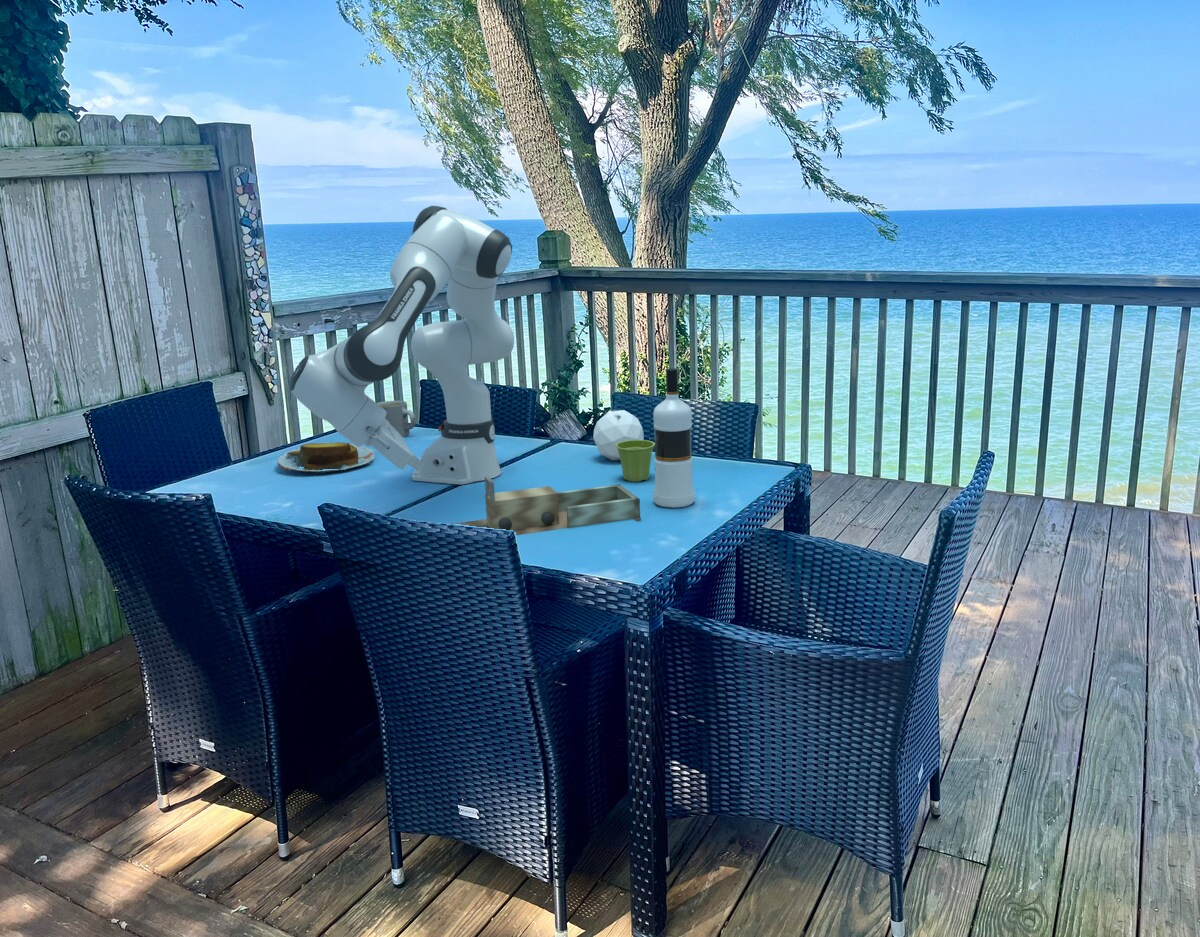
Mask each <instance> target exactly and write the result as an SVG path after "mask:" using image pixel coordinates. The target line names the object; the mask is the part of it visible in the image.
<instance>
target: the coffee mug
mask: <svg viewBox="0 0 1200 937" xmlns="http://www.w3.org/2000/svg"><path fill="white" fill-rule="evenodd" d="M376 403H377V404H378V405H379V406H381V407H382V408H383V409H384V410H386V412H387V413H386V416H385V419H386V420H388V421H389V423H390V424H391V425H392V426H393V427H394V428H395V429H396V430H397V431H398V433H399V434H400V435H401V436H402V437H404V438H406V437H405V436H407V437H409V436H410V435H409V434H411V433H410V430H412V429H414V428H415V426H416V421H417V420H416V415H415V413H414V411H412V410H409V409H408V404H407V403H408V402H407V401H404V400H386V401H380V402H376ZM409 420H410V421H409ZM408 435H409V436H408Z"/></svg>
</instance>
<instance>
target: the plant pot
mask: <svg viewBox="0 0 1200 937" xmlns="http://www.w3.org/2000/svg"><path fill="white" fill-rule="evenodd" d="M616 448H618V453H619V455H620V460H619V461H620V464H621V469H622V475H623V479H624V480H626V481H627V482H631V483H632V482H635V483H637V482H641V481H647V480H648V479H649V478H650V471H651V470H650V468H651V461H652V453H653V451H654V448H655V441H651V440H646V439H644V440H628V441H623V442H619V443H617V444H616Z"/></svg>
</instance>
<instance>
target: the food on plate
mask: <svg viewBox="0 0 1200 937" xmlns="http://www.w3.org/2000/svg"><path fill="white" fill-rule="evenodd" d="M374 458H375V449H374V450H373V449H372V448H368V447H367V446H363V445H361V446H359V447H357V446H356V445H354V444H353V443H349V442H317V443H315V442H313V443H311V442H310V443H304V444H301V445H300V447H298V448H296V449H295V448H294V449H290V450H288V451H286V452H284V453H283V454H281V455H280V456H279V457H278V458H277V461H276V464H277V465H278V466H280V469H282V470H284V471H287V470H290V471H291V470H294V471H301V472H310V473H329V472H330V471H332V472H337V471H338V470H325V471H321V470H323V469H341V470H340V471H343V470H344V471H346V470H347V469H351V468H354V467H359V466H362V465H366V464H368V463H370V462H372V461H374ZM358 461H361V463H359V462H358ZM300 466H301V467H304V468H303V470H302V469H299V468H298V467H300ZM330 473H331V472H330Z"/></svg>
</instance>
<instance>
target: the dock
mask: <svg viewBox="0 0 1200 937" xmlns="http://www.w3.org/2000/svg"><path fill="white" fill-rule="evenodd" d="M556 492H557V491H556ZM557 493H558V505H559V523H558V524H551V525H544V526H537V527H529V528H522V529H515V530H513V531H514V532H516V535H515V536H521V535H528V534H534V533H535V534H536V533H541V532H549V531H557V530H564V529H571V528H578V527H583V526H584V527H585V526H590V525H591V526H593V525H599V524H600V525H601V524H605V523H606V524H607V523H613V522H619V521H620V522H621V521H627V520H634V521H635V522H639V521H641V520H642V517H641V502H640V498H639V497H638V496H637V495H635V494H634V493H633V492H631V491H629V490H628V489H627V488H625V487H624V486H623V485H621V484H620V483H619V484H612V485H611V484H610V485H605V486H596V487H587V488H580V489H579V488H578V489H572V490H563V491H558V492H557ZM453 524H461V525H469V526H476V527H487V528H490V527H489V526H488V525H487V518H484V519H475V520H468V521H462V522H455V523H453Z"/></svg>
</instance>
